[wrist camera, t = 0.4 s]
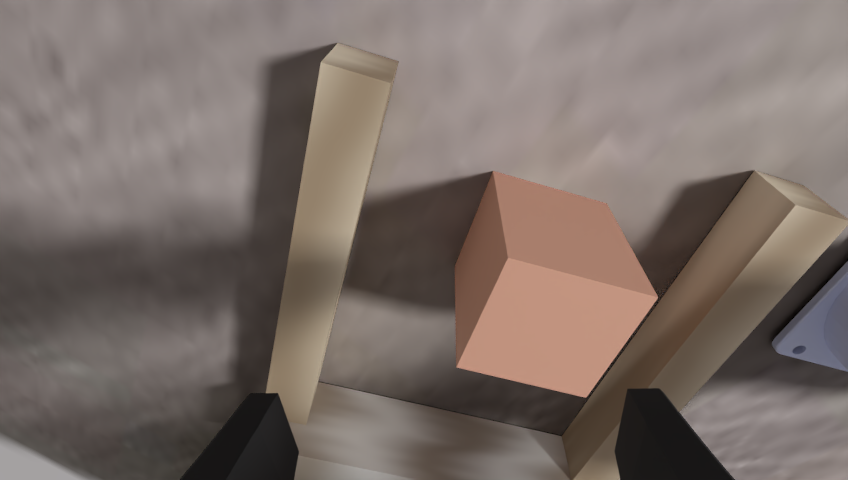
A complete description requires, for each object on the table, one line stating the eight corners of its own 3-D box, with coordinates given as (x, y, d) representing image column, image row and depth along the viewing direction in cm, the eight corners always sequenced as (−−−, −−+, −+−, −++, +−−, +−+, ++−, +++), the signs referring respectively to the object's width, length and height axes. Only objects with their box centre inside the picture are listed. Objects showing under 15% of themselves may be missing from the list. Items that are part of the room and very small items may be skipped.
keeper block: (606, 202, 19) (658, 297, 14) (555, 291, 21) (586, 397, 16) (493, 170, 18) (507, 257, 13) (454, 265, 20) (456, 367, 16)
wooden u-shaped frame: (803, 185, 18) (886, 247, 14) (575, 470, 28) (593, 546, 24) (337, 42, 16) (307, 76, 12) (272, 404, 26) (246, 477, 22)
